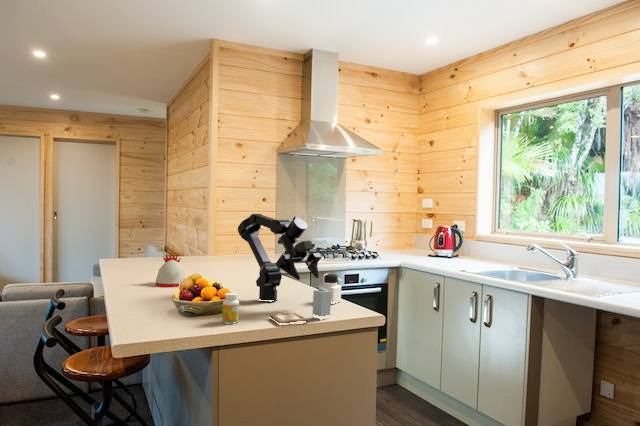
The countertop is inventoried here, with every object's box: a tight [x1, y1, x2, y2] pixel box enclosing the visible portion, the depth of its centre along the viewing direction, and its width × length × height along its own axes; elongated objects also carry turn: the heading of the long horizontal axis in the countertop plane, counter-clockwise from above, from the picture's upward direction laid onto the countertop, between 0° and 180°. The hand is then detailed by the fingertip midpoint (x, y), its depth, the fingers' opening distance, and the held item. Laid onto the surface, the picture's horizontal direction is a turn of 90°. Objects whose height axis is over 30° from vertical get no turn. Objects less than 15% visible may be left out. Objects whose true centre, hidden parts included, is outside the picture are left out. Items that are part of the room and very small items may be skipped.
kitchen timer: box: [155, 253, 187, 288], centre depth 221 cm, size 14×14×15 cm
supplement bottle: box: [221, 292, 240, 324], centre depth 157 cm, size 5×5×10 cm
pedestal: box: [268, 312, 308, 323], centre depth 162 cm, size 10×10×2 cm
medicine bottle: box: [318, 273, 342, 302], centre depth 196 cm, size 7×7×12 cm
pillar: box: [312, 288, 331, 316], centre depth 168 cm, size 4×4×11 cm
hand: (308, 278), depth 174 cm, fingers open, 9 cm apart
